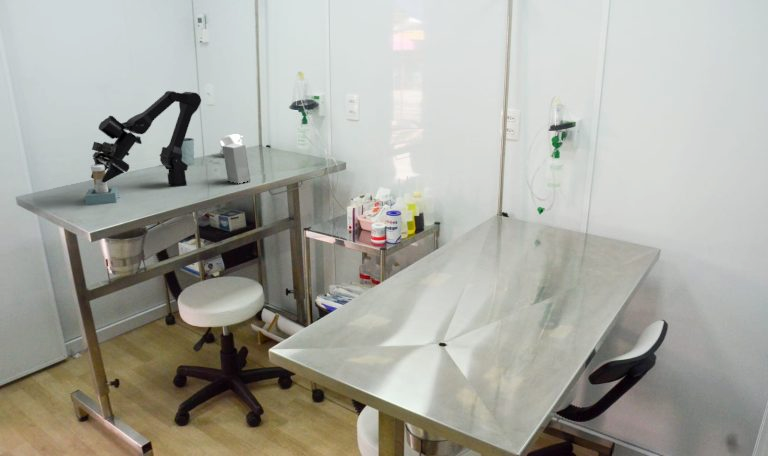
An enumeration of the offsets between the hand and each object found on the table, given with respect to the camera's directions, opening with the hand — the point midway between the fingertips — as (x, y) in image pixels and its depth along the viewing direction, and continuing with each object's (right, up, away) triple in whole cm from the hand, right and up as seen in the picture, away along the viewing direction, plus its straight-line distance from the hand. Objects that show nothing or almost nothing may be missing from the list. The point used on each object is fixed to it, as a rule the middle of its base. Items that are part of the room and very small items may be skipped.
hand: (97, 180), depth 205 cm
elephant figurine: (+30, +18, +77) cm, 84 cm away
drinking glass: (+11, +13, +62) cm, 64 cm away
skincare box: (+45, +2, +29) cm, 54 cm away
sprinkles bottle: (+1, -8, +3) cm, 8 cm away
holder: (+1, -7, +3) cm, 8 cm away
